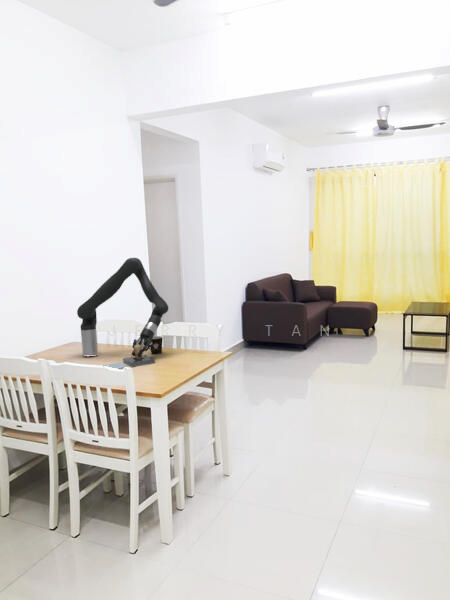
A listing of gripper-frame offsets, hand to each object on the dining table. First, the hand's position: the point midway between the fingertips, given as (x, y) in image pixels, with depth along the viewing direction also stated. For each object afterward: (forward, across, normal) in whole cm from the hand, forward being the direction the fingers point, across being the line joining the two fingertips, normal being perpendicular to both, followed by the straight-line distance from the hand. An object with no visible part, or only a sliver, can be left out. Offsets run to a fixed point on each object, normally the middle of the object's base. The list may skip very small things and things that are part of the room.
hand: (135, 355), depth 281 cm
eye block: (+2, 0, +5) cm, 5 cm away
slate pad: (+11, -6, -4) cm, 13 cm away
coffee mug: (-14, -8, +21) cm, 26 cm away
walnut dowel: (+2, 0, +5) cm, 5 cm away
